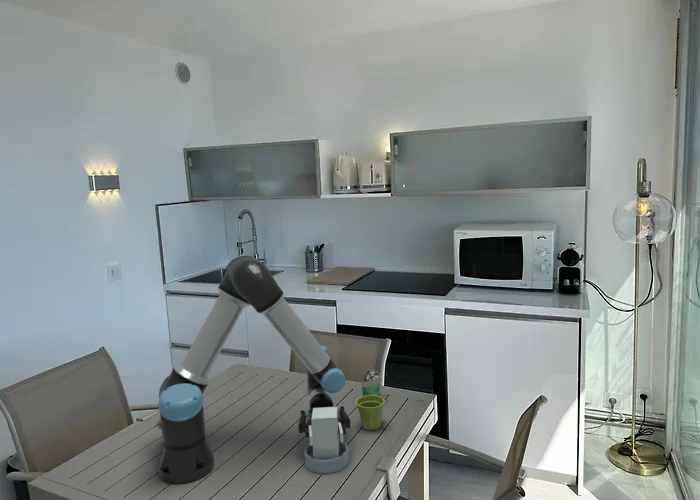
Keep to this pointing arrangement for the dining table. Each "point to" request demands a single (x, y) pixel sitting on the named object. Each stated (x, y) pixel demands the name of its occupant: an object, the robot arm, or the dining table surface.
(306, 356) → the robot arm
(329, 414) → the supplement box
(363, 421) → the plant pot
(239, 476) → the dining table surface
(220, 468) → the dining table surface
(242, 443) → the dining table surface
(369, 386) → the food container
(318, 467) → the bowl
